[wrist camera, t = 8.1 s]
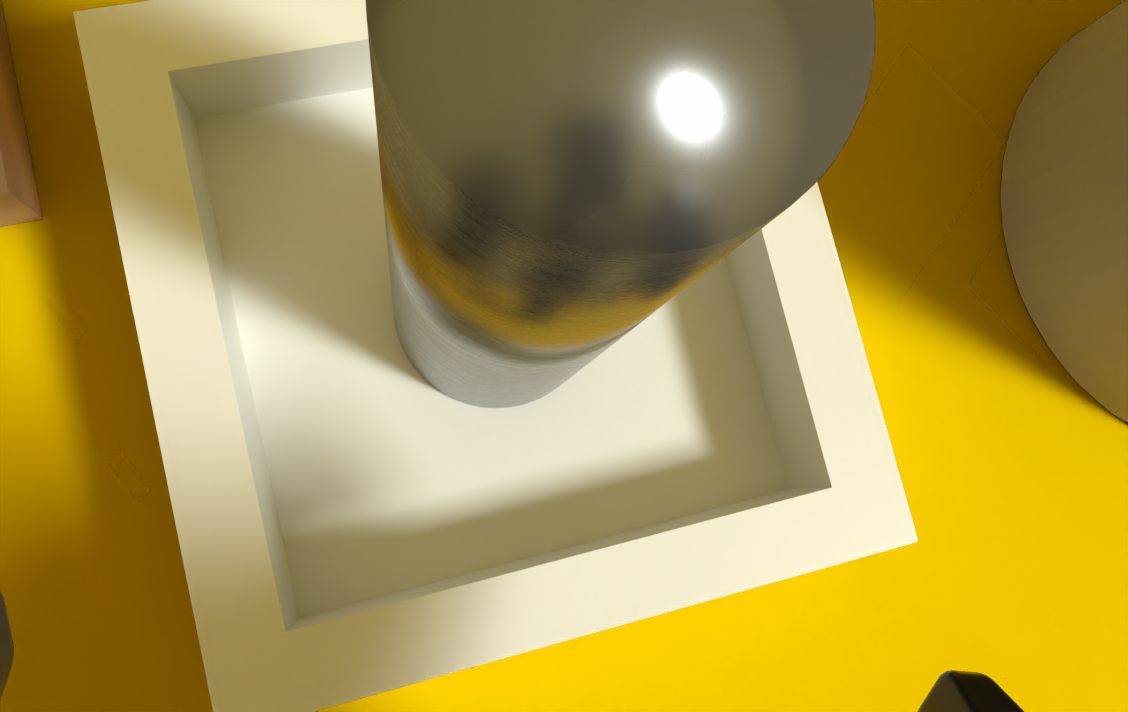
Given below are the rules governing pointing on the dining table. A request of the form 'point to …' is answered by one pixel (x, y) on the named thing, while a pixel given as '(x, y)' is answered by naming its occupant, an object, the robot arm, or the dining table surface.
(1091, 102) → the coffee mug
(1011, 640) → the dining table surface
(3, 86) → the brown flat square frame
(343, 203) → the bin tray
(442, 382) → the strut
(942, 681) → the robot arm
